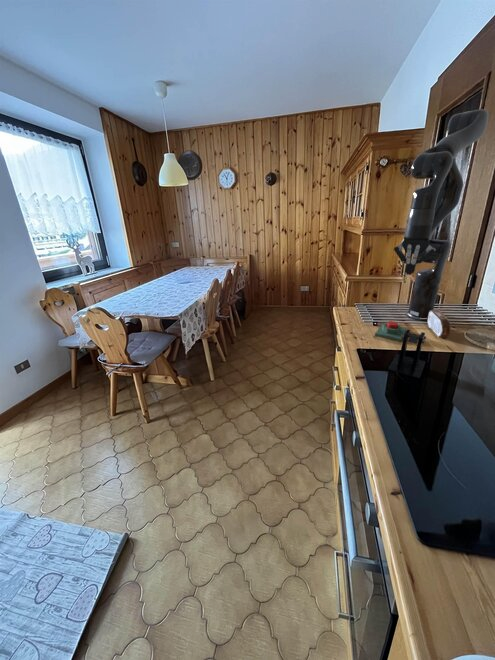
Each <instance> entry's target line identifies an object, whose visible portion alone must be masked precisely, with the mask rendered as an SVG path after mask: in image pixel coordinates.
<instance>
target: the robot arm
mask: <svg viewBox="0 0 495 660" xmlns="http://www.w3.org/2000/svg"><path fill="white" fill-rule="evenodd" d="M488 123H489V112H488V110H486V109H482V108H481V109H474V110H469V111H464V112H459V113H455V114H453V115H452V116H451V117H450V118H449V121H448V124H447V127H446V131H445V136H444V137H443V138H442V139H440V140H439V141H438V143H436V144H435V145H434V146H433V147H430V148H428V149H425V150H423V151H422V152H420V153H419V154H418V155H417V156H416V157H415V158H414V160H413V161H412V163H411V166H410V174H411V176H412V178H414V179H415V180H432V181H431V182H430V183H429V185H427V186H424V187H419V188H417V189H415V190H414V191H413V193H412V197H411V203H410V209H409V212H408V214H407V219H406V225H405V231H404V236H403V240H402V241H401V243H400V244H399V245H396V246H394V248H393V250H394V252H395V254H396V255H397V257H398V258H399V260H400V262H401V263H405V269H404V273H406V275H407V276H410V275H411V276H412V275H413V274H414V273H415V271H416V266H417V264H421V263H425V264H426V263H427V264H432V265H433V264H434V266H432V267H430V268H427V269H426V268H425V269H421V270H418V271H417V272H416V275H415V279H414V283H413V289H412V293H411V298H410V302H409V307H408V310H407V316H408V317H409V318H411V319H413V320H417V321H427V320H428V319H420V318H428V314H429V311H430V310H435V309H434V308H435V305H436V301H437V297H438V293H439V289H440V286H441V283H442V279H443V275H444V270H445V267H446V263H447V260H448V258H449V255H450V251H451V247H452V245H451V241H449V240H446V239H445V240H444V239H432V238H433V235H434V233H435V231H436V229H437V228H438V227H439V226H440V224H441V223H442V222H443V221H444V220H445V219H446V218H447V217H448V216H449V215H450V214H451V213H452V212H453V211H454V210H455V208H457V206H458V205H459V203H460V199H461V196H462V192H463V189H464V179H463V176H462V174H461V171H460V169H459V167H458V164H457V160H456V156H457V155H458V154H459V153H460V152H462V151H463V150H464V149H466V148H467V147H469V146H471V145H473V144H474V143H476V142H477V141H479V140H480V139H481V138H482V137H483V136H484V134H485V133H486V130H487V126H488ZM403 250H404V252H405V253H406V255H405V253H404V252H403Z"/></svg>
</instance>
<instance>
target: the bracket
mask: <svg viewBox="0 0 495 660" xmlns="http://www.w3.org/2000/svg"><path fill="white" fill-rule="evenodd" d="M410 333H411V329H409V328H407V330H406V332H405V334H403V337H402V339H401V340H402V342H401V348H400V352H399V353H395V355H394V357H393V360H392V361H391V362H390V364H389V366H388V368H387V370H389V371H392V372H395V373H398V374H402V375H404V376H405V375H406V376H409V377H412V378H415V379H420V378H421V376H422V373H423V371H424V368H425V365H426V363H427V362H426V361H425V360H422V359H419V358H420V355H421V351H422V347H423V344H425V341H426V339H424V336H425V335H426V333H425V332H423V331H421V332H420V334H419V335H420V337H419V339H418V341H417V343H416V348H415V352H414V356H413V357H410V356H407V355H406V352H407V347H408V344H409V342H408V340H409V335H410ZM425 337H426V336H425Z"/></svg>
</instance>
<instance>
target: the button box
mask: <svg viewBox="0 0 495 660" xmlns="http://www.w3.org/2000/svg"><path fill="white" fill-rule="evenodd" d="M387 323H388V322H382V324H381V325H380V326H379V327H378V328H377V330H376V332H375V334H374V336H375V337H379V338H383V339H387V340H390V341H396V342H399V343H400V342H401V341H402V340H403V339H402V337H403V334H405V332H406V331H407V329H408V327H405V326H401V325H400V324H398V326H397V328H396V329H392V328H388V327H387Z"/></svg>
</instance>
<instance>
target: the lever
mask: <svg viewBox="0 0 495 660" xmlns="http://www.w3.org/2000/svg"><path fill="white" fill-rule="evenodd" d="M419 337H420V334H416V333H411V332H410V335H409V340H408V343H412V344H416V345H417V344H418V339H419ZM424 339H425V340H426V339H427V336H424Z"/></svg>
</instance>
